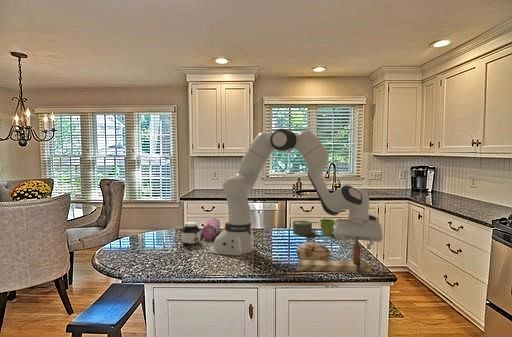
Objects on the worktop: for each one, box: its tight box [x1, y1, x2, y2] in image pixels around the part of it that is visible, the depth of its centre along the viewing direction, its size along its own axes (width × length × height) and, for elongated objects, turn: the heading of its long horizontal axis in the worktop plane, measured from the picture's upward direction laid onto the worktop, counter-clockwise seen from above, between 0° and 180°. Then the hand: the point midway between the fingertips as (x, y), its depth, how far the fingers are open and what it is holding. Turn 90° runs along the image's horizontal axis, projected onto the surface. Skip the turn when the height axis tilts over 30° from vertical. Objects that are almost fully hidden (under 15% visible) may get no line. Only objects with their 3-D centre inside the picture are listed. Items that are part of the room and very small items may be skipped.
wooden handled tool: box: [352, 236, 362, 265], centre depth 137 cm, size 3×3×12 cm
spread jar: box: [180, 221, 201, 246], centre depth 179 cm, size 12×11×12 cm
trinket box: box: [296, 241, 331, 261], centre depth 150 cm, size 13×15×8 cm
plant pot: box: [319, 218, 336, 237], centre depth 197 cm, size 9×9×9 cm
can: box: [292, 220, 313, 236], centre depth 201 cm, size 12×12×7 cm
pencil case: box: [201, 218, 221, 240], centre depth 196 cm, size 21×9×9 cm, turn 179°
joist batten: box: [297, 259, 372, 273], centre depth 138 cm, size 30×6×2 cm, turn 86°
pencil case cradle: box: [200, 226, 225, 240], centre depth 197 cm, size 13×23×3 cm, turn 176°
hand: (357, 247), depth 136 cm, fingers open, 8 cm apart
